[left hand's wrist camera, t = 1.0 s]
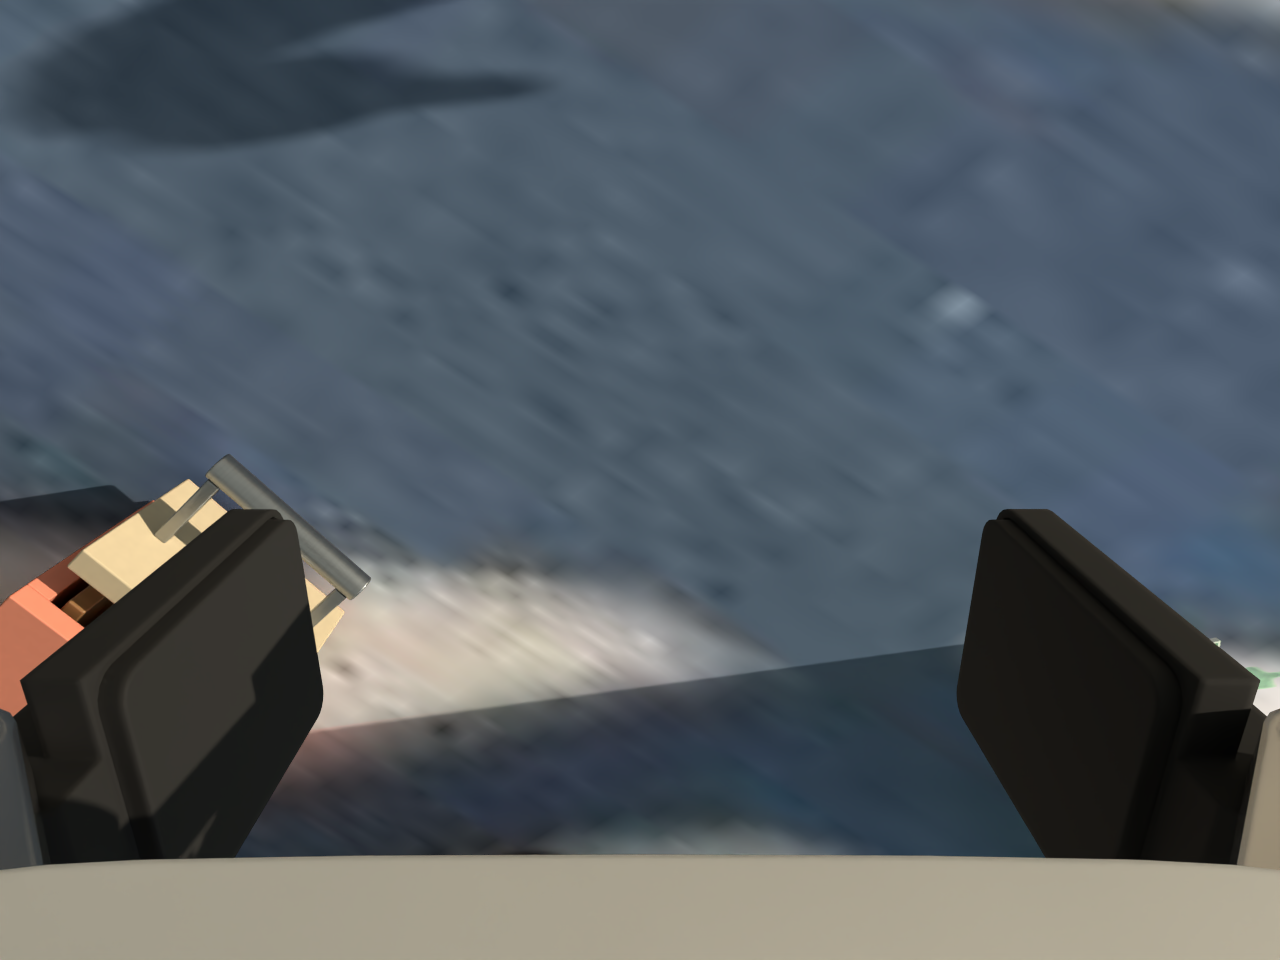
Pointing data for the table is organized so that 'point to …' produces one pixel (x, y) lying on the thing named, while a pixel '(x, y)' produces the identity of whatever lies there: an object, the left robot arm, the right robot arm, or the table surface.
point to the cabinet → (37, 625)
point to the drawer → (180, 520)
